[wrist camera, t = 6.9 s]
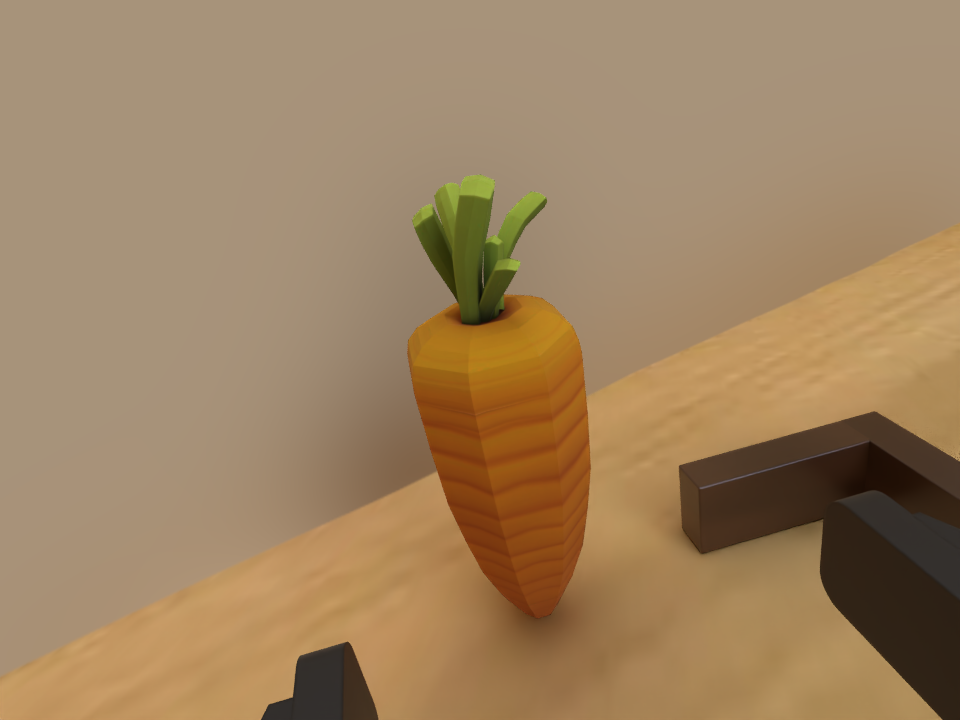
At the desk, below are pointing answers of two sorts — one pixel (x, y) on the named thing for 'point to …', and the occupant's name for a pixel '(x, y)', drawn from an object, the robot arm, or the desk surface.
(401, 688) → the desk surface
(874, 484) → the corner stop
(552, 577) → the carrot
